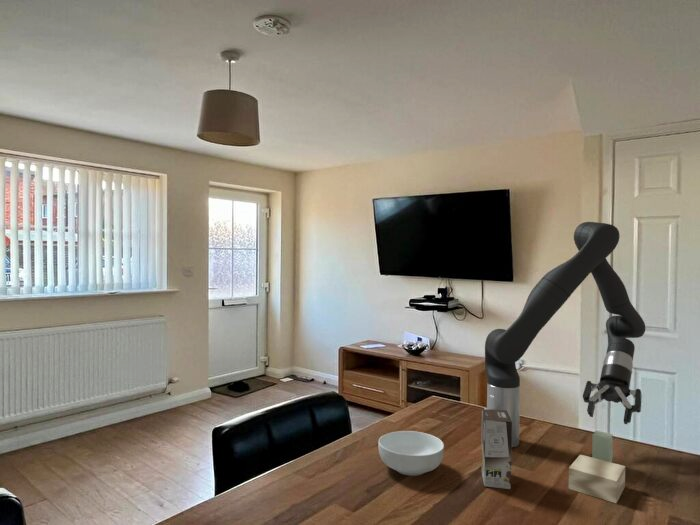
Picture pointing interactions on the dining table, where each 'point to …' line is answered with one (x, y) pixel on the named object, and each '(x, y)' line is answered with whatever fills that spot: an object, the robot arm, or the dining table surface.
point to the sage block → (602, 446)
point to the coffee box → (496, 448)
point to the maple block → (597, 478)
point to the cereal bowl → (411, 452)
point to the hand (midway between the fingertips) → (607, 419)
